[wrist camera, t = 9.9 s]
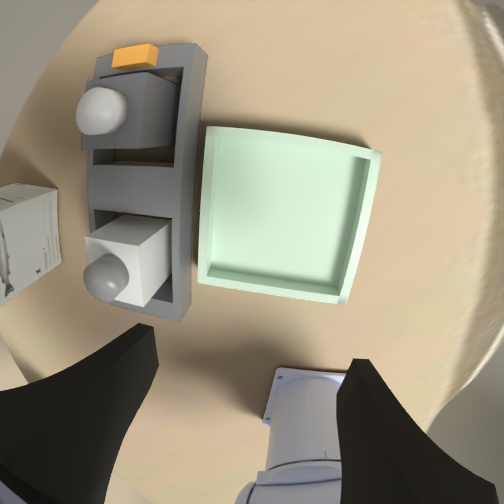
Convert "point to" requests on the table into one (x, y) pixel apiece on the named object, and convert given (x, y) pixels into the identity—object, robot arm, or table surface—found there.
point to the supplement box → (27, 236)
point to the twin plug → (128, 259)
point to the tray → (284, 213)
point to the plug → (128, 112)
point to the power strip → (155, 169)
